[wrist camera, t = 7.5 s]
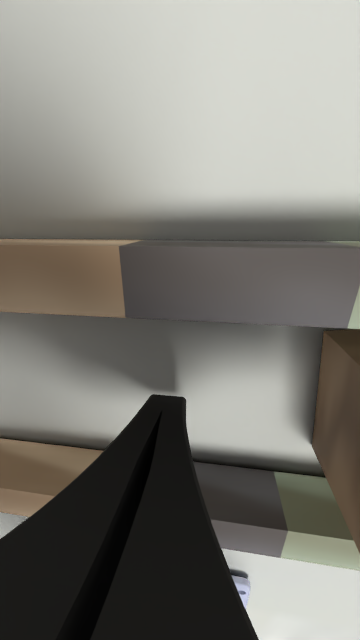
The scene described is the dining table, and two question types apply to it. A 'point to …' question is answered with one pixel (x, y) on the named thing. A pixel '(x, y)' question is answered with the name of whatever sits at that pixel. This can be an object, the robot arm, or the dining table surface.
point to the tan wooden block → (340, 422)
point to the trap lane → (192, 305)
